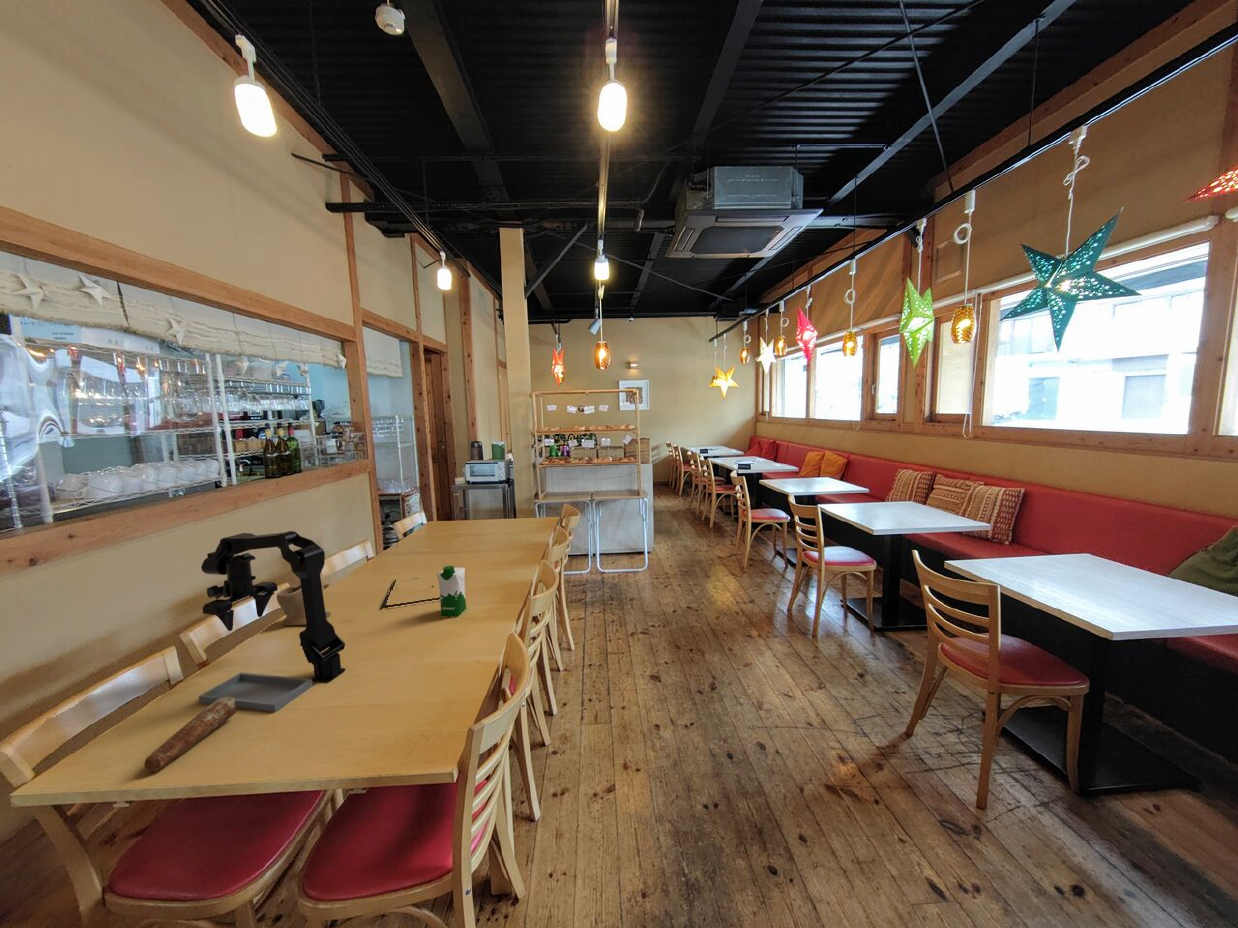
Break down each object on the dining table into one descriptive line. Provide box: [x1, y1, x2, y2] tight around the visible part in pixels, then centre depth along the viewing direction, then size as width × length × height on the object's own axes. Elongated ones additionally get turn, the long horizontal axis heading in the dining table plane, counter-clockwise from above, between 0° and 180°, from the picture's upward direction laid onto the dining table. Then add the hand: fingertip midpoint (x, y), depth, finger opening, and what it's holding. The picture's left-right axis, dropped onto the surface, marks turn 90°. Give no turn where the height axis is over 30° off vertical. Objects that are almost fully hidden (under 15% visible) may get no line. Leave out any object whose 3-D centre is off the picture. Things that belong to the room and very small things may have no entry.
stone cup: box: [276, 583, 332, 626], centre depth 171 cm, size 15×12×15 cm
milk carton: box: [437, 565, 467, 617], centre depth 175 cm, size 9×9×20 cm
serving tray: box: [198, 671, 313, 713], centre depth 127 cm, size 25×12×2 cm, turn 80°
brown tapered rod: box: [144, 696, 238, 773], centre depth 108 cm, size 6×19×6 cm, turn 174°
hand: (245, 623), depth 139 cm, fingers open, 9 cm apart
